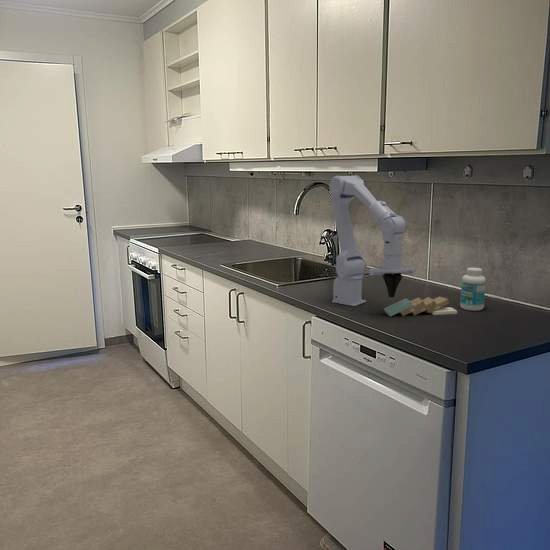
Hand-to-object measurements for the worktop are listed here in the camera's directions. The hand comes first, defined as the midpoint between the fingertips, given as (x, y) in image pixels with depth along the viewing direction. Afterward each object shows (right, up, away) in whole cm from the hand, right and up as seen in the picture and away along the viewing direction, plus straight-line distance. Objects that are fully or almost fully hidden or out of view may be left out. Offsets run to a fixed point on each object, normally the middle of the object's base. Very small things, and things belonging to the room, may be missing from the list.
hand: (391, 296), depth 170 cm
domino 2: (+3, -5, +1) cm, 6 cm away
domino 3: (+7, -5, +2) cm, 8 cm away
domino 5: (+13, -5, +2) cm, 15 cm away
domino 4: (+11, -4, +2) cm, 12 cm away
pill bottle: (+28, -4, +7) cm, 30 cm away
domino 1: (-1, -5, +1) cm, 5 cm away
